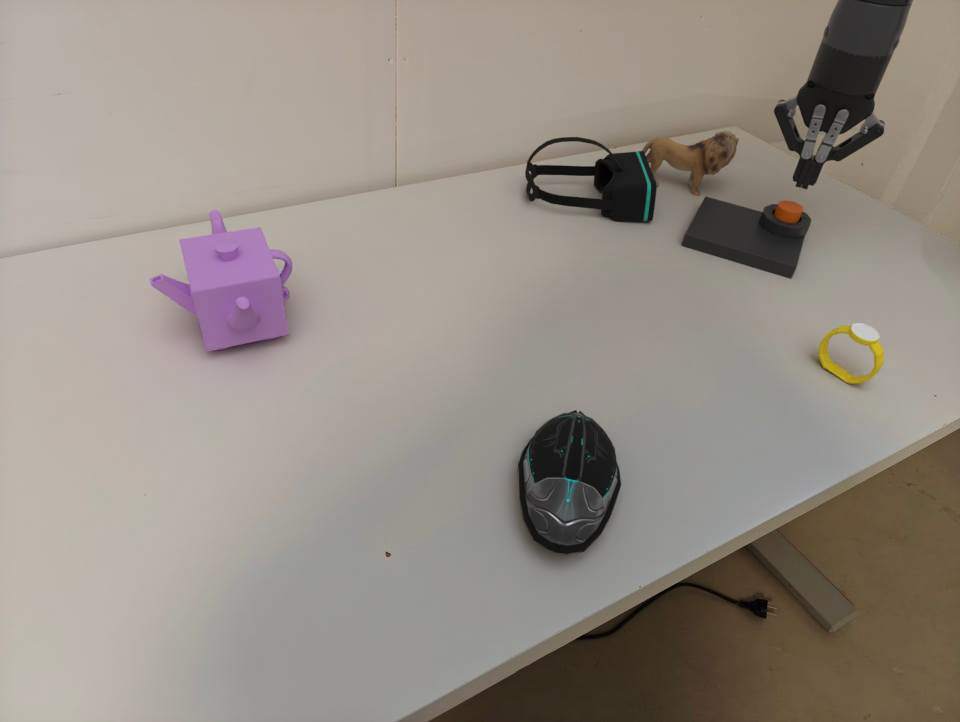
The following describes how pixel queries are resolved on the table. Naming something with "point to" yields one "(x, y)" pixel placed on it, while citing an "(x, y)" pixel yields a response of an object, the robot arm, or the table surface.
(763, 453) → the table surface
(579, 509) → the computer mouse
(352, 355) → the table surface
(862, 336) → the watch
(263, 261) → the teapot
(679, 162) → the lion figurine
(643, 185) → the virtual reality headset
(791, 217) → the button
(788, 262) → the button base plate
